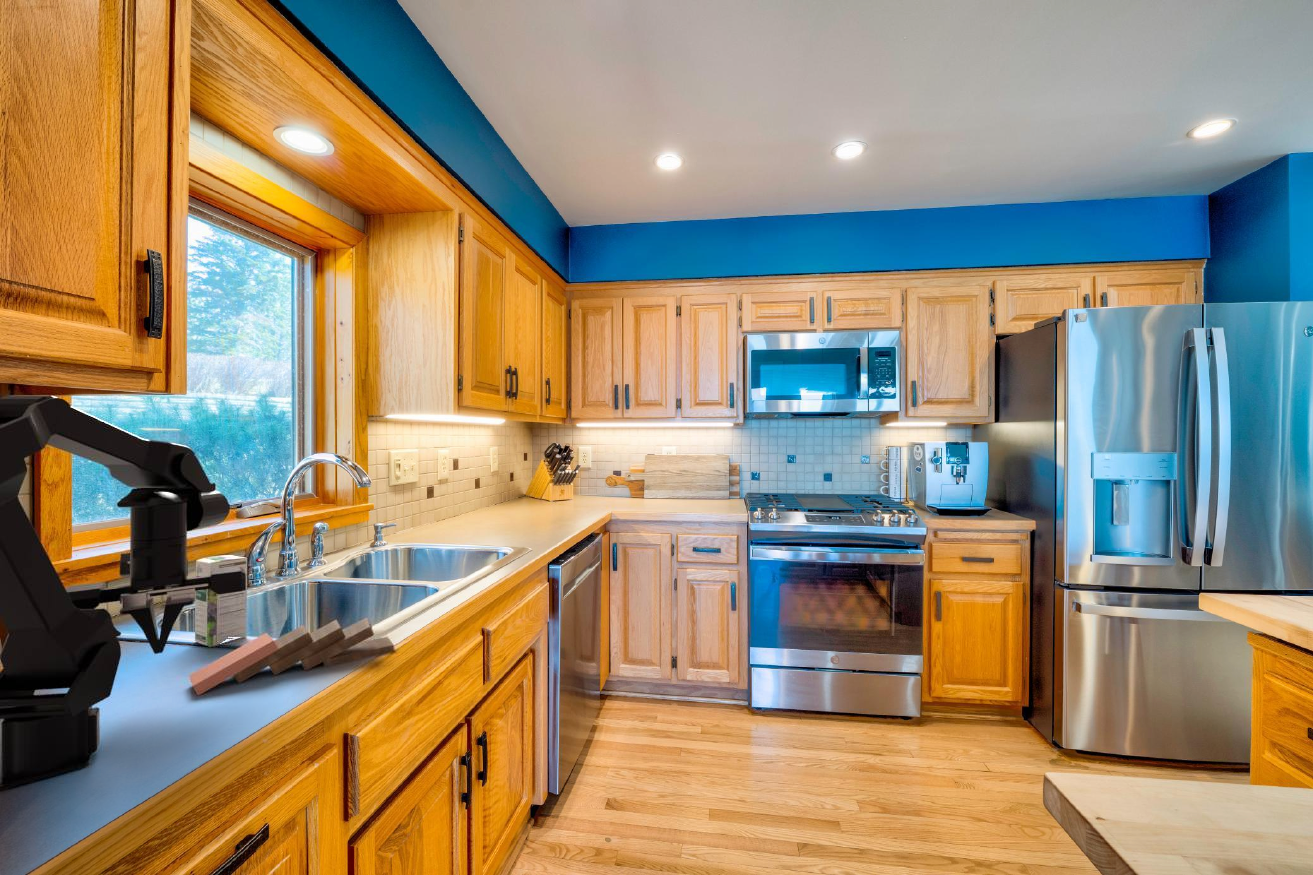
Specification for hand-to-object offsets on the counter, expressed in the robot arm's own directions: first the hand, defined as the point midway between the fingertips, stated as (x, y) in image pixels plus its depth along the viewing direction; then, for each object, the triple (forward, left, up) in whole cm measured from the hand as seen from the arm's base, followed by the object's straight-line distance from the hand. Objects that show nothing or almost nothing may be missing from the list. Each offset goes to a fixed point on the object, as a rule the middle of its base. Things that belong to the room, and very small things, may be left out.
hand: (158, 652), depth 74 cm
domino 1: (+4, 0, -6) cm, 7 cm away
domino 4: (+17, 0, -6) cm, 18 cm away
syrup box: (+8, +23, -7) cm, 25 cm away
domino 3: (+13, +1, -6) cm, 14 cm away
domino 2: (+8, +1, -6) cm, 10 cm away
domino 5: (+19, 0, -6) cm, 20 cm away
